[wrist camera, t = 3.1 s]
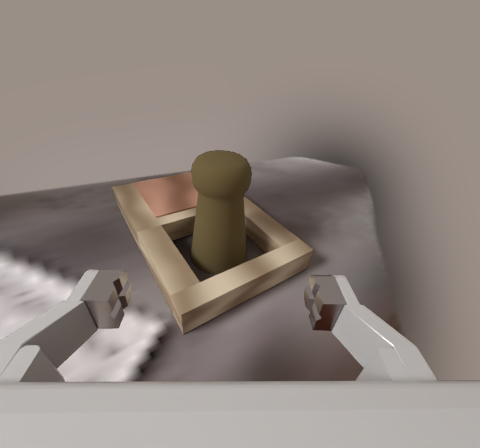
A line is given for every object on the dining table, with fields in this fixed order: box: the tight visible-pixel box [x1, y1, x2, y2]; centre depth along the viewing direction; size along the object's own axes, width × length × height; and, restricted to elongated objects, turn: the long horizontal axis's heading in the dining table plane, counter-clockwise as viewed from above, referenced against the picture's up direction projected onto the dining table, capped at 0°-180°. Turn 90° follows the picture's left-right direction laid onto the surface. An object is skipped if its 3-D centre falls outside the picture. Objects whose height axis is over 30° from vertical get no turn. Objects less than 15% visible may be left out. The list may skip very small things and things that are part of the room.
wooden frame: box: [112, 172, 314, 334], centre depth 29 cm, size 14×22×3 cm, turn 34°
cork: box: [191, 150, 252, 275], centre depth 23 cm, size 6×6×11 cm
